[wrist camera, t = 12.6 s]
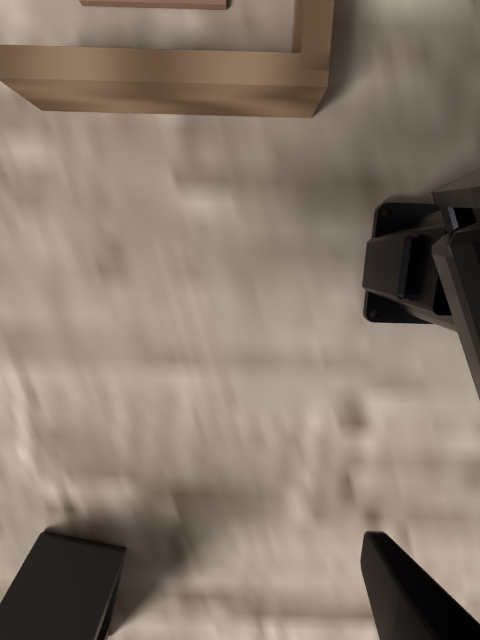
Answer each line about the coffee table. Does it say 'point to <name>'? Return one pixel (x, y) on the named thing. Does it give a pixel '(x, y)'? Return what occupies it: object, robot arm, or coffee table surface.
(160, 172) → the coffee table surface
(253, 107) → the l-shaped wooden corner frame
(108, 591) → the phone stand
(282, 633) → the coffee table surface
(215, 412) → the coffee table surface
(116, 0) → the pad
